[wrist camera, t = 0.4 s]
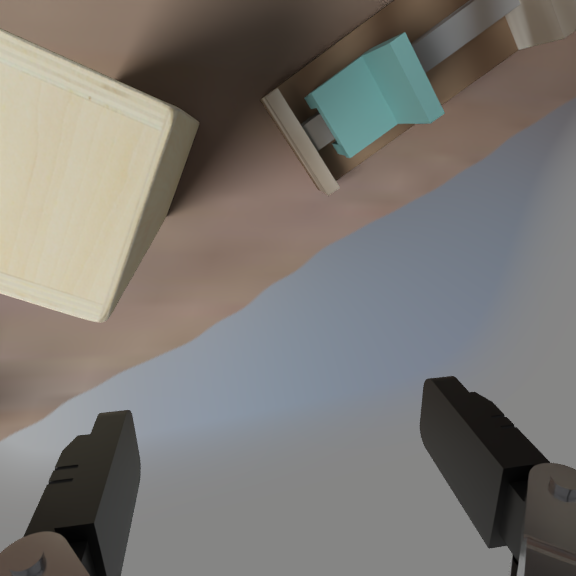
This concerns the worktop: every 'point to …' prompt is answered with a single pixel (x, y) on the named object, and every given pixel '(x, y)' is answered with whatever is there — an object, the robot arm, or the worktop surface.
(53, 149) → the toy refrigerator
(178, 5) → the worktop surface
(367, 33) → the track
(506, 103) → the worktop surface
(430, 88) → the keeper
